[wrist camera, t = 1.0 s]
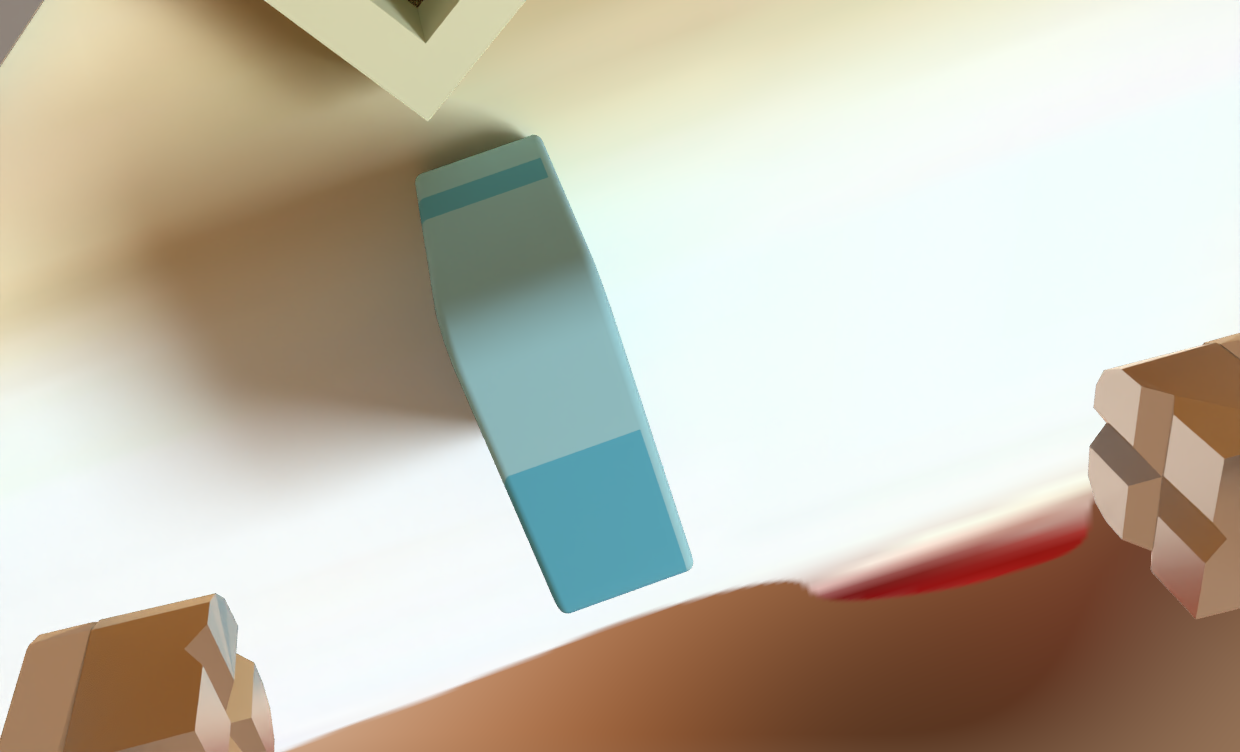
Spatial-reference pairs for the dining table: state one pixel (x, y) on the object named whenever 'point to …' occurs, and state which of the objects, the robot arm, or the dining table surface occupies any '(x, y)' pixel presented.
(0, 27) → the boss board
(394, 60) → the cream rectangular bar
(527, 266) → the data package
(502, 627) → the dining table surface
